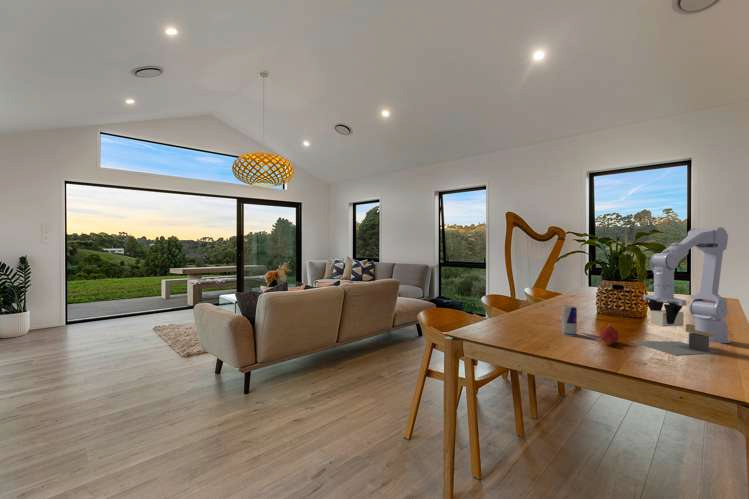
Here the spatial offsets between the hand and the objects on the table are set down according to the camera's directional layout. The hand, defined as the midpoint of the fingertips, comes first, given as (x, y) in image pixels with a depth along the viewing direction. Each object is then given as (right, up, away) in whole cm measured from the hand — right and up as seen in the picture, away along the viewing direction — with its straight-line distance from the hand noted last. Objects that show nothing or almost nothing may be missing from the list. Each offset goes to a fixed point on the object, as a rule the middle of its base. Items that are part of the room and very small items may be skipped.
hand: (663, 322), depth 130 cm
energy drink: (-26, -9, +17) cm, 32 cm away
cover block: (+1, -1, 0) cm, 2 cm away
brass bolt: (+6, -3, -8) cm, 10 cm away
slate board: (0, -9, -3) cm, 9 cm away
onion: (-19, -9, +2) cm, 21 cm away
